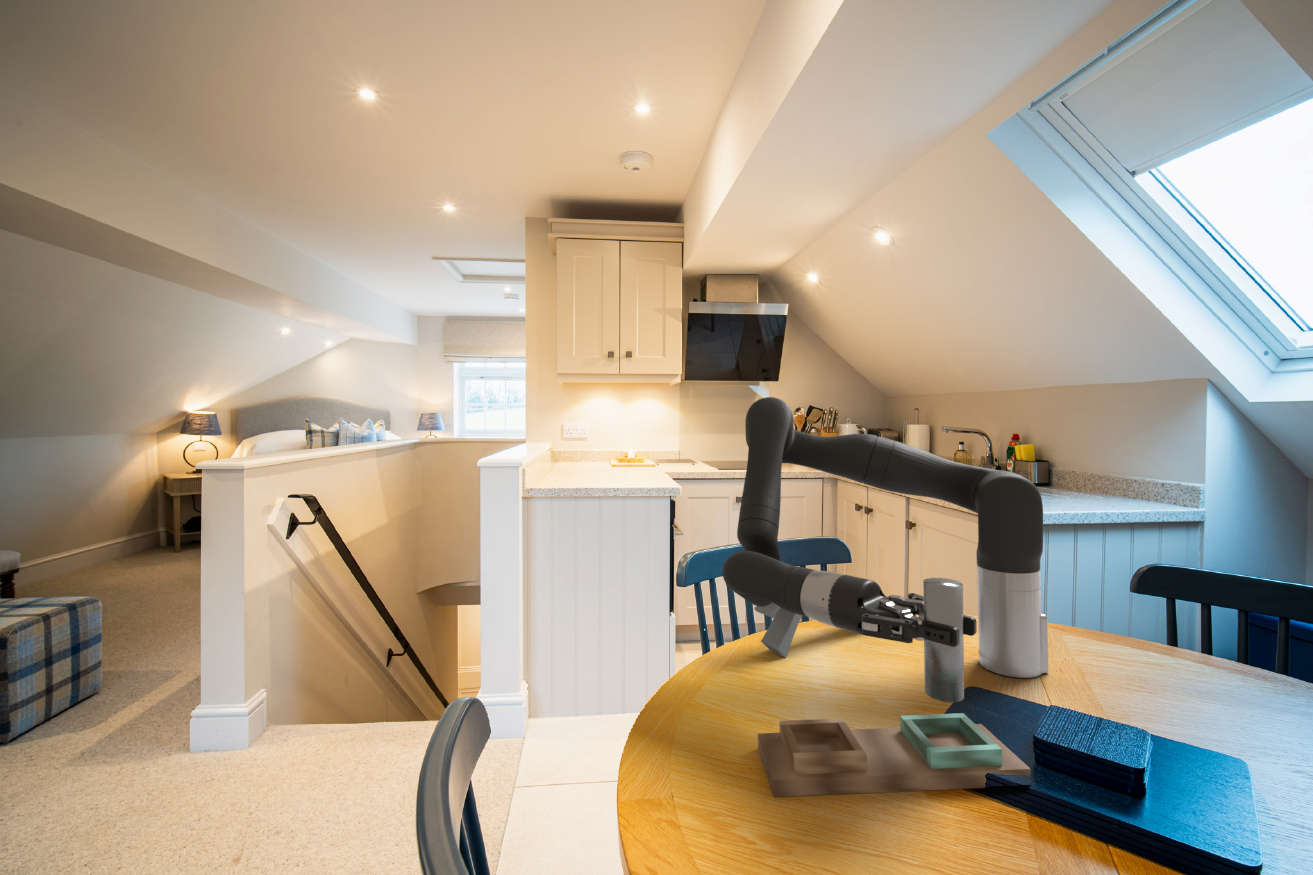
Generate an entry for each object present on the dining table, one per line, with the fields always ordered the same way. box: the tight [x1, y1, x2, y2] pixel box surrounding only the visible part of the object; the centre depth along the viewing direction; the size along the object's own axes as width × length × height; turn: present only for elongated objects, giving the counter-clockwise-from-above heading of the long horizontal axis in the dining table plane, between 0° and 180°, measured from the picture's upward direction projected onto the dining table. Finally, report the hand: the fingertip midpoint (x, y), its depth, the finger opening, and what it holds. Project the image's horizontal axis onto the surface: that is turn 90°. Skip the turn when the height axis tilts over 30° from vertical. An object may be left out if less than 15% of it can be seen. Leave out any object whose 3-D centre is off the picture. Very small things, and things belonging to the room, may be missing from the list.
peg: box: [922, 577, 965, 703], centre depth 72 cm, size 4×4×14 cm
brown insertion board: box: [757, 712, 1032, 798], centre depth 72 cm, size 30×10×4 cm, turn 90°
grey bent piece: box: [753, 603, 803, 658], centre depth 113 cm, size 6×17×30 cm
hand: (966, 632), depth 70 cm, fingers closed on peg, 4 cm apart
